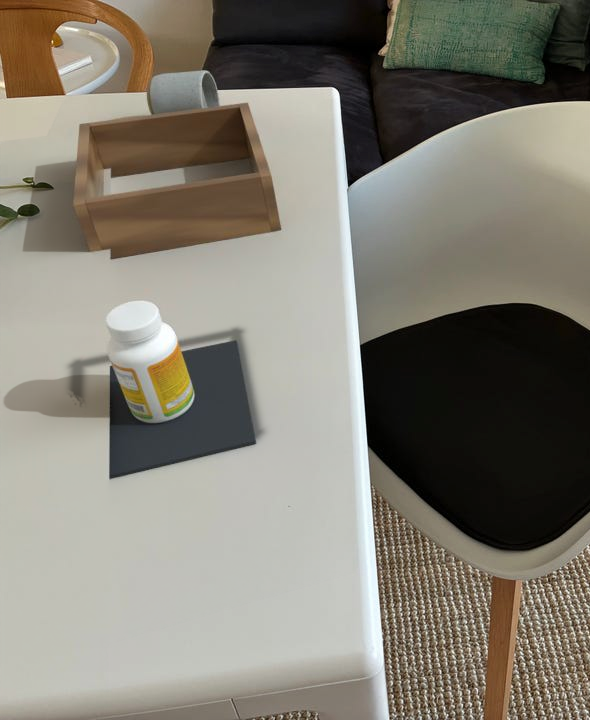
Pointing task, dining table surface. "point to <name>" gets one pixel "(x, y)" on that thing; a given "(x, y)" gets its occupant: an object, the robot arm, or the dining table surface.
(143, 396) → the supplement bottle
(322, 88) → the dining table surface
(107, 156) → the wooden box
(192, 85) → the ceramic mug
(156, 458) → the slate mat
